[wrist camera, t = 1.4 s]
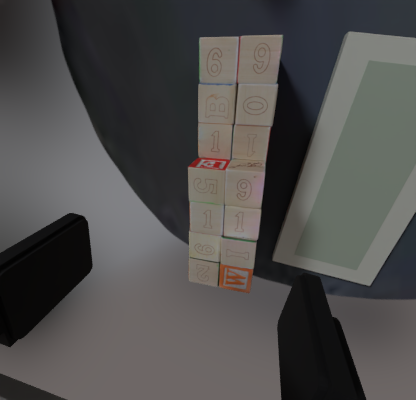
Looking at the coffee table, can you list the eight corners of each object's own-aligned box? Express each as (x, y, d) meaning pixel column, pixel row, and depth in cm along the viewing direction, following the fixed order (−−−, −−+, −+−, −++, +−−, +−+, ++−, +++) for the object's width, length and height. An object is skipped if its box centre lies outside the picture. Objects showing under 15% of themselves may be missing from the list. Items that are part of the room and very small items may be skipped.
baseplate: (502, 50, 20) (517, 48, 18) (366, 279, 31) (370, 286, 30) (344, 35, 22) (349, 31, 20) (272, 255, 33) (272, 261, 32)
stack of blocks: (221, 56, 25) (185, 21, 14) (280, 56, 24) (291, 18, 13) (213, 223, 34) (187, 283, 23) (255, 230, 32) (249, 296, 21)
